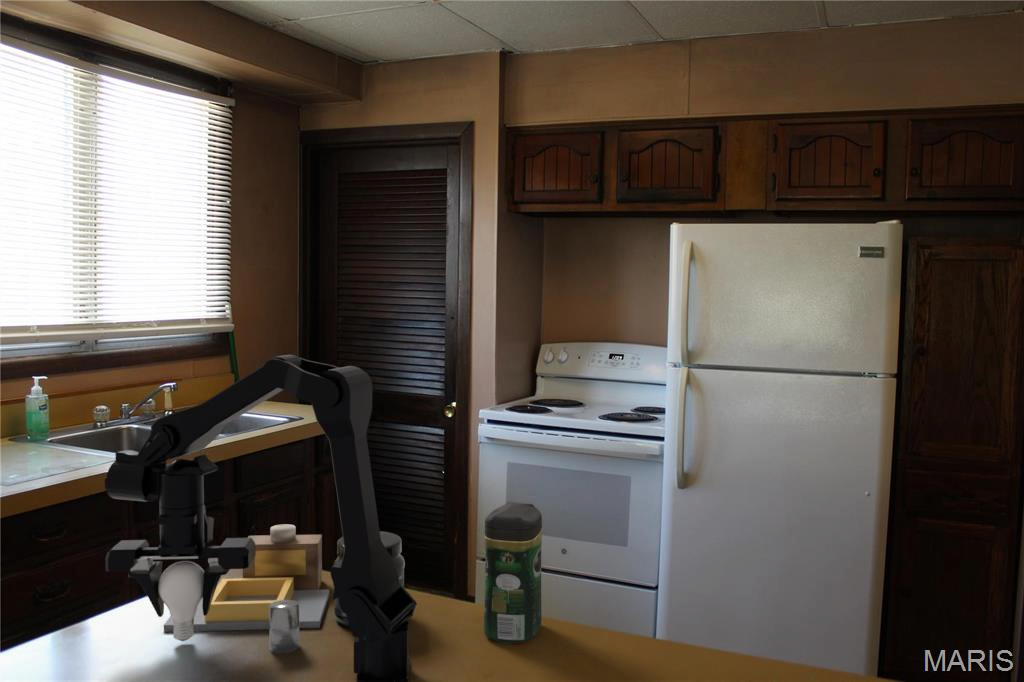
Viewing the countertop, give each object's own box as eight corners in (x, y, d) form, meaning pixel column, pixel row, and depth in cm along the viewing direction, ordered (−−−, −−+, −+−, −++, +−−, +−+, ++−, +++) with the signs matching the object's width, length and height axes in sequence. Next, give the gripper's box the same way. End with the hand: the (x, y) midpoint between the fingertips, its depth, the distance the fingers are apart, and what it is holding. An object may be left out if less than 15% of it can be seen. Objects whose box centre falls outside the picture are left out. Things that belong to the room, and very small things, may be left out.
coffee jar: (494, 616, 130) (496, 496, 129) (545, 622, 128) (547, 500, 127) (476, 642, 121) (477, 512, 120) (531, 649, 119) (533, 517, 118)
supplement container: (387, 635, 123) (388, 553, 122) (321, 626, 126) (321, 546, 125) (414, 608, 133) (415, 533, 132) (352, 601, 136) (352, 527, 135)
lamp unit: (321, 581, 145) (321, 522, 144) (317, 592, 139) (317, 532, 139) (249, 582, 144) (248, 523, 143) (242, 594, 138) (241, 533, 138)
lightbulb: (191, 651, 115) (190, 571, 114) (149, 647, 116) (147, 567, 116) (216, 633, 121) (215, 556, 121) (176, 629, 123) (175, 553, 122)
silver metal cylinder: (301, 641, 120) (301, 599, 120) (296, 653, 117) (296, 610, 116) (272, 641, 120) (271, 600, 120) (266, 654, 116) (266, 610, 116)
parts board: (329, 595, 138) (329, 574, 138) (319, 627, 125) (319, 604, 125) (188, 598, 136) (188, 577, 136) (163, 631, 123) (163, 608, 123)
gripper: (262, 489, 127) (263, 592, 128) (131, 491, 125) (133, 596, 126) (246, 508, 115) (248, 621, 116) (102, 511, 114) (105, 626, 115)
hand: (183, 615), depth 119 cm, fingers closed on lightbulb, 6 cm apart
